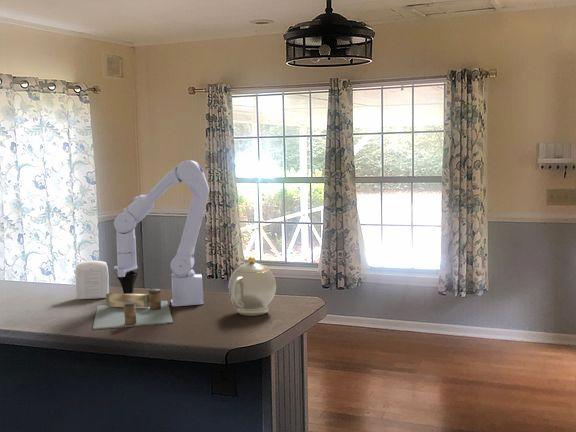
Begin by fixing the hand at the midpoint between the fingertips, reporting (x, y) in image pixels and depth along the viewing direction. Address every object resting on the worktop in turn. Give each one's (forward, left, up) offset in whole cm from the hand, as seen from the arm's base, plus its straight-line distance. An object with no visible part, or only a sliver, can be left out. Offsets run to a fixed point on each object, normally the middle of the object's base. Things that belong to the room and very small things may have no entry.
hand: (128, 295), depth 200 cm
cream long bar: (0, +6, -2) cm, 6 cm away
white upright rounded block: (+11, -14, -3) cm, 19 cm away
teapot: (-34, +24, -3) cm, 41 cm away
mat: (-1, +13, -3) cm, 13 cm away
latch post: (-1, +25, -3) cm, 25 cm away
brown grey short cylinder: (-8, +10, -3) cm, 13 cm away
